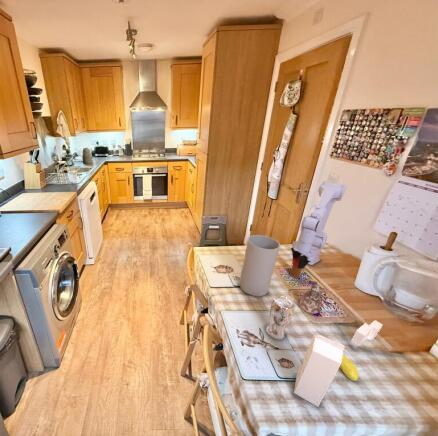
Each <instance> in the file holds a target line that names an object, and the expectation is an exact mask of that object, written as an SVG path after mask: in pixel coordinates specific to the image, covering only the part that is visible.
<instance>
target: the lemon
mask: <svg viewBox="0 0 438 436" xmlns="http://www.w3.org/2000/svg"><path fill="white" fill-rule="evenodd" d="M339 369H341V370H342V372H343V373H344V375H345V376H346V377H347V378H348V379H349V380H351V381H354V382H355V381H357V380H358V379H359V371H358V369H357V367H356V366H355V364H354V363H353V362H352V360H351V359H349V358H348V357H347V356H346V355H345V354H343V356H342V362H341V365H340V367H339Z"/></svg>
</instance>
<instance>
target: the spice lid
mask: <svg viewBox="0 0 438 436" xmlns="http://www.w3.org/2000/svg"><path fill="white" fill-rule="evenodd" d="M291 265H292V266H293V265H294V266H295V267H298V265H299V258H294V259H293V258H292V262H291Z"/></svg>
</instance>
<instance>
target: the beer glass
mask: <svg viewBox="0 0 438 436" xmlns="http://www.w3.org/2000/svg"><path fill="white" fill-rule="evenodd" d="M295 308H296V304H295V302H294V300H292V298H290V297H288V296H286V295H276V296H274V297H273V300H272V302H271V306H270V309H269V310H270V311H269V322H268V324H267V326H266V327H265V330H266V333H267V334H268V336H270V337H271V338H273V339H275V340H282V339H284V337H285V331H286V328H287V327H288V326H289V324H290V322H291V321H292V320H293V317H294V313H295Z"/></svg>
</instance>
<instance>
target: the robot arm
mask: <svg viewBox="0 0 438 436" xmlns="http://www.w3.org/2000/svg"><path fill="white" fill-rule="evenodd" d="M346 190H347V185H346V184H345V183H344V184H343V183H342V184H341V183H336V182H329V181H325V180H323V181H321V183H320V184H319V186H318V195H319V199H318V201H317V204H314V205H313V206H311V209H310V210H309V212H308V214H307V216H304V217H303V218H302V220H301V225H300V233H299V236H298V240H297V241H296V240H295V241H292V247H290V250H291V255H292V260H293V259H294V258H299V265H298V268H299V269H302V270H304V268H305V267H306V266H307V265H310V266H313V265H315V264H317V263H318V262H319V261H321V259H320V256H321V253H322V250H323V249H324V248H325V245H326V243H327V240H328V234H327V233H326V232H325V231H324V229H325V227H326V225H327V222H328V220H329V217H330V214H331V213H332V209H333V206H334V205H335V204H336V202H339V201H342V199H343V197H344V194H345V193H346Z"/></svg>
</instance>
